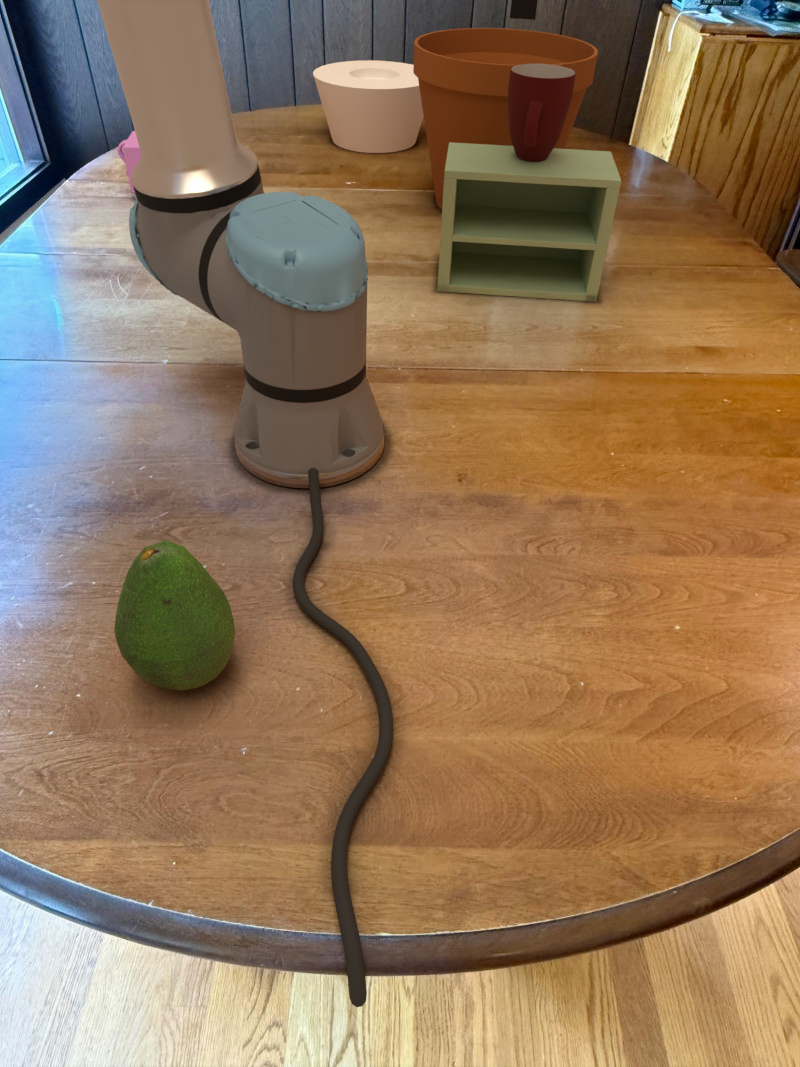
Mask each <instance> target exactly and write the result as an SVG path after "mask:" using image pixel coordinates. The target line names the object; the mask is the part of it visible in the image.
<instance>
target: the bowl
mask: <svg viewBox="0 0 800 1067" xmlns="http://www.w3.org/2000/svg"><path fill="white" fill-rule="evenodd" d="M413 69H414V64H412V63H406V62H399V61H392V60H391V61H388V60H368V59H367V60H346V61H339V62H338V61H337V62H332V63H327V64H324V65H321V66H319V67H317V68H315V69H314V70H313V72H312V75H313V78H314V83H315V85H316V89H317V93H318V95H319V99H320V103H321V106H322V110H323V113H324V117H325V119H326V124H327V127H328V130H329V133H330V136H331V140H332V143H333V144H334V145H336V146H338V147H339V148H341V149H344V150H347V151H352V152H358V153H365V154H366V153H367V154H368V153H369V154H387V153H396V152H400V151H404V150H408V149H410V148H412V147H413V146H415V144H416V142H417V140H418V136H419V133H420V129H421V127H422V122H423V121H424V115H423V108H422V102H421V95H420V88H419V81H418V77H416V75H415V74H414V73H413Z"/></svg>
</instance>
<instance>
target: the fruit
mask: <svg viewBox="0 0 800 1067" xmlns="http://www.w3.org/2000/svg"><path fill="white" fill-rule="evenodd" d="M115 612H116V613H115V619H114V620H115V621H114V628H113V629H114V636H115V640H116V645H117V647H118V649H119V652H120V654H121V657H122V658H123V659H124V661H125V662H126V663H127V664H128V666H129V667H130V668H131V669H132V670H133V671H134V673H136V675H137V676H138V677H140V678H142V679H143V680H145V681H146V682H147V683H148V682H149V683H150V684H153V685H155V686H158V687H160V688H163V689H166V690H174V691H187V690H192V689H193V690H194V689H197V688H200V687H203V686H205V685H206V684H208V683H210V682H212V681H213V680H215V679H216V678H217V677H219V675H220V674H221V673H222V671H224V669H225V668H226V667H227V665H228V663H229V661H230V659H231V656H232V653H233V650H234V649H233V648H234V643H235V634H236V627H235V626H236V625H235V620H234V615H233V612H232V607H231V605H230V601H229V600H228V598H227V595H226V594H225V592H224V591H223V589H222V587H221V586H220V585H219V583H218V582H217V581H216V579H214V578H213V576H212V575H211V574H210V573H209V572H208V571H207V569H206V568H205V567H204V565H203V564H202V563H201V562H200V561H199V560H198V559H197V558H196V557H195V556H194V555H193V554H192V553H191V552H190V551H189V549H187V548H186V546H184V545H181V544H178V543H175V542H173V541H170V540H167V539H164V540H161V541H159V542H157V543H154V544H151V545H147V546H144V547H143V548H142V550H140V552H139V554H138V555H136V557H135V558H134V560H133V562H132V564H131V565H130V567H129V569H128V570H127V573H126V575H125V579H124V581H123V585H122V587H121V591H120V594H119V599H118V602H117V607H116V611H115Z"/></svg>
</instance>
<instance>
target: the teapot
mask: <svg viewBox="0 0 800 1067" xmlns="http://www.w3.org/2000/svg"><path fill="white" fill-rule="evenodd" d="M117 153H118V156H119V158H120V159H121V160H122V162H123V163H124V164H125V168H126V170H125V173H126V176H127V178H128V184H129V187H130V194H135V191H134V188H133V184H132V179H131V175H132V172H133V170H134V168H135V166H136V165H137V163H138V161H139V160H140V158H141V150H140V147H139V143H138V140H137V136H136V133H135V130H132V131H131V133H130V134H129V136H128V138H127V139H123V140H122V141H121V142H120V143H119V144H118V146H117Z"/></svg>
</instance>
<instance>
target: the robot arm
mask: <svg viewBox="0 0 800 1067" xmlns="http://www.w3.org/2000/svg"><path fill="white" fill-rule="evenodd" d="M96 1H97V5H98V7H99V12H100V15H101V18H102V22H103V25H104V29H105V32H106V36H107V39H108V43H109V47H110V49H111V54H112V56H113V60H114V64H115V68H116V70H117V74H118V77H119V80H120V84H121V87H122V91H123V95H124V98H125V101H126V102H125V103H126V105H127V108H128V111H129V115H130V119H131V122H132V126H133V129H134V131H135V133H136V136H137V140H138V143H139V147H140V150H141V158H140V160H139V161H138V163H137V165H136V166H135V168H134V170H133V172H132V175H131V179H132V184H133V188H134V191H135V193H134V197H133V198H134V199H135V200H134V204H133V206H132V207H131V208H130V209H129V215H128V216H129V217H128V226H129V227H128V228H129V235H130V241H131V243H132V246H133V250H134V252H135V254H136V256H137V259H138V260H139V262H140V263H141V264H142V266H143V267H144V269H145V270H146V271H147V272H148V273H149V274H150V275H151V276H152V277H153V278H154V279H155V280H156V281H157V282H158V283H159V284H160V285H161V286H162V287H164V288H165V289H166V290H167V291H169V292H170V293H172V294H173V295H175V296H178V297H180V298H182V299H183V300H186V301H187V302H189V303H191V304H192V305H193V306H195V307H197V308H198V309H200V310H202V311H204V312H205V313H207V314H208V315H210V316H212V317H214V318H215V319H217V320H218V321H220V322H221V323H223V324H225V325H227V326H228V327H230V328H232V329H234V330H235V331H236V332H237V333H238V335H239V339H240V346H241V347H240V348H241V354H242V362H243V369H244V370H243V371H244V379H245V381H244V386H243V391H242V394H241V397H240V398H241V399H240V403H239V407H238V411H237V415H236V419H235V423H234V429H233V440H234V446H235V453H236V456H237V458H238V461H239V462H240V464H241V465H242V467H243V468H245V470H246V471H248V473H250V474H252V475H253V476H254V477H257V478H258V479H260V480H263V481H265V482H267V483H270V484H273V485H277V486H281V487H286V488H294V489H309V501H310V502H309V503H310V509H311V516H312V532H311V536H310V539H309V542H308V544H307V546H306V548H305V549H304V552H302V554H301V556H300V558H299V560H298V561H297V564H296V566H295V568H294V572H293V576H292V591H293V594H294V597H295V599H296V601H297V603H298V605H299V606H300V608H301V609H302V610H303V612H304V613H305V614H306V615H307V616H309V617H310V619H312V620H313V621H314V622H315V623H317V625H319V626H320V627H322V628H323V629H324V630H326V631H327V632H329V633H330V634H332V635H333V636H334V637H335V638H337V639H338V640H339V641H341V642H342V643H343V644H344V645H345V646H346V647H347V648H348V649H349V650H350V651H351V653H352V654H353V656H354V657H355V659H356V661H357V662H358V664H359V666H360V668H361V670H362V671H363V673H364V675H365V677H366V679H367V680H368V683H369V685H370V687H371V690H372V692H373V695H374V698H375V701H376V706H377V711H378V723H379V724H378V725H379V726H378V727H379V729H378V730H379V731H378V739H377V740H378V741H377V746H376V749H375V752H374V755H373V757H372V760H371V761H370V763H369V765H368V766H367V769H366V770H365V771H364V773H363V775H362V776H361V778H360V779H359V781H358V782H357V783H356V785H355V786H354V788H353V790H352V791H351V793H350V794H349V796H348V798H347V800H346V802H345V803H344V806H343V808H342V810H341V812H340V814H339V817H338V820H337V823H336V826H335V828H334V834H333V838H332V846H331V855H330V856H331V857H330V876H331V887H332V894H333V901H334V907H335V910H336V916H337V921H338V925H339V931H340V936H341V941H342V946H343V951H344V959H345V965H346V966H345V967H346V975H347V986H348V998H349V1000H350V1004H351V1005H353V1006H354V1007H356V1008H361V1007H363V1006H364V1005H365V1003H366V1002H367V998H368V993H367V992H368V990H367V980H366V970H365V961H364V954H363V948H362V942H361V937H360V932H359V927H358V922H357V918H356V914H355V910H354V906H353V905H354V904H353V900H352V896H351V890H350V884H349V875H348V850H349V849H348V848H349V847H348V846H349V841H350V840H349V839H350V835H351V830H352V827H353V824H354V820H355V819H356V816H357V814H358V812H359V811H360V808H361V807H362V805H363V803H364V802H365V800H366V798H367V797H368V795H369V793H370V792H371V790H372V789H373V787H374V786H375V784H376V782H377V781H378V779H379V777H380V776H381V774H382V773H383V770H384V769H385V766H386V764H387V762H388V760H389V756H390V754H391V749H392V745H393V738H394V737H393V736H394V715H393V708H392V703H391V699H390V695H389V692H388V689H387V686H386V684H385V681H384V680H383V678H382V675H381V674H380V672H379V670H378V668H377V666H376V665H375V663H374V661H373V660H372V658H371V656H370V654H369V653H368V651H367V650H366V649H365V647H364V646H363V644H362V643H361V642H360V641H359V640H358V638H356V636H355V635H353V633H351V631H349V630H348V629H347V628H345V626H343V625H342V624H340V623H339V622H338V621H336V620H335V619H333V618H332V617H331V616H329V615H327V614H326V613H325V612H323V611H322V610H321V609H320V608H318V606H316V605H315V604H314V603H313V601H312V600H311V599H310V597H309V595H308V593H307V590H306V585H305V576H306V574H307V571H308V569H309V567H310V565H311V563H312V561H313V559H314V558H315V557H316V555H317V552H318V551H319V548H320V546H321V544H322V539H323V535H324V527H325V526H324V523H325V522H324V512H323V507H322V498H321V497H322V496H321V488H327V487H332V486H336V485H340V484H343V483H346V482H349V481H351V480H354V479H356V478H358V477H360V476H362V475H364V474H365V473H366V472H367V471H369V470H370V469H371V468H372V467H374V465H375V464H376V463H377V462H378V461H379V459H380V457H381V456H382V454H383V452H384V447H385V425H384V422H383V418H382V414H381V413H380V410H379V407H378V405H377V402H376V399H375V396H374V394H373V390H372V388H371V386H370V383H369V380H368V378H367V330H368V328H367V327H368V326H367V324H368V322H367V320H368V281H369V278H368V277H369V276H368V275H369V267H368V266H369V265H368V262H367V259H366V247H365V246H366V244H365V238H364V237H365V236H364V233H363V231H362V228H361V226H360V225H359V222H358V221H357V220H356V219H355V218H354V217H353V216H352V214H350V212H348V211H347V210H346V209H344V208H343V207H341V206H340V205H338V204H336V203H334V202H332V201H330V200H327V199H326V198H322V197H319V196H315V195H312V194H309V195H304V196H303V195H300V194H299V193H298V192H294V191H271V192H264V191H265V190H264V186H263V180H262V175H261V171H260V170H261V169H260V165H259V160H258V157H257V155H256V153H255V152H253V151H252V150H251V149H250V148H248V147H247V146H245V145H244V144H243V143H241V142H240V141H239V139H238V138H237V134H236V129H235V123H234V119H233V114H232V109H231V108H232V107H231V103H230V99H229V93H228V89H227V83H226V78H225V74H224V69H223V63H222V59H221V58H222V57H221V54H220V50H219V49H220V48H219V44H218V39H217V34H216V30H215V25H214V24H215V23H214V18H213V14H212V9H211V4H210V0H96ZM538 2H539V1H538V0H511V1H510V11H509V19H513V20H514V19H516V20H530V21H531V20H533V21H534V20H535V21H536V16H537V8H538Z"/></svg>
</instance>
